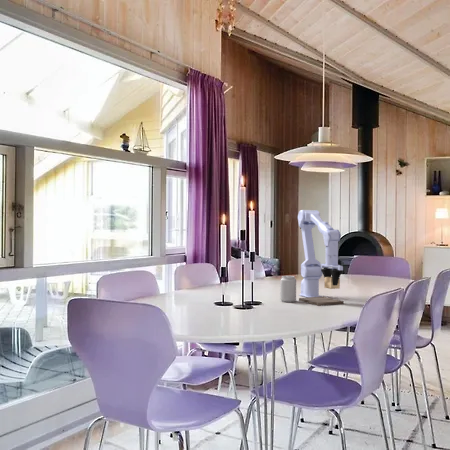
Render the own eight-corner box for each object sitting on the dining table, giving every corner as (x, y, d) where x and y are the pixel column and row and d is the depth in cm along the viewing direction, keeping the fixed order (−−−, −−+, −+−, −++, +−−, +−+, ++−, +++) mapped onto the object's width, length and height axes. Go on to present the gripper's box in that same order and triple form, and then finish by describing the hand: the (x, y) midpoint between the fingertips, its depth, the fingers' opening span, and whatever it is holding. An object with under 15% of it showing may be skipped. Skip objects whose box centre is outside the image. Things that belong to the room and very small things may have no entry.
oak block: (324, 287, 234) (324, 277, 234) (333, 287, 236) (333, 276, 236) (330, 288, 229) (330, 278, 229) (339, 288, 231) (339, 277, 231)
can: (283, 302, 231) (284, 277, 231) (277, 300, 238) (278, 275, 238) (298, 302, 233) (298, 276, 233) (292, 299, 240) (292, 275, 240)
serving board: (298, 300, 238) (299, 298, 238) (323, 298, 244) (323, 296, 244) (318, 305, 223) (318, 303, 223) (343, 303, 229) (343, 301, 229)
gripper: (348, 256, 228) (348, 285, 228) (329, 254, 241) (329, 282, 241) (335, 256, 225) (335, 286, 225) (317, 254, 238) (317, 283, 238)
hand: (331, 284), depth 233 cm, fingers closed on oak block, 5 cm apart
